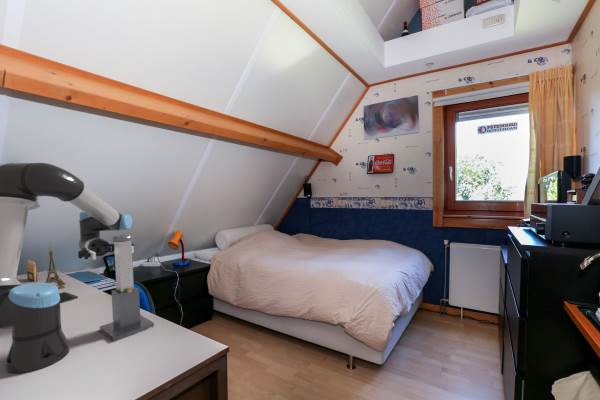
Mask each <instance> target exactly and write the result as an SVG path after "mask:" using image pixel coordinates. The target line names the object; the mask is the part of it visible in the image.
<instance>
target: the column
mask: <svg viewBox="0 0 600 400" xmlns="http://www.w3.org/2000/svg"><path fill="white" fill-rule="evenodd" d="M132 241H133V235H132V234H120V235H115V236H112V243H113V244H114V250H115V251H114V266H115V285H116V286H115V287H116V288H115V290H116V291H117V292H118V293H124V292H127V290H130V289H132V290H134V287H135V286H134V283H135V282H134V268H133V253H132V244H133V243H132Z"/></svg>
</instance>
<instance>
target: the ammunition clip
mask: <svg viewBox="0 0 600 400" xmlns="http://www.w3.org/2000/svg"><path fill="white" fill-rule="evenodd" d="M26 272H27V273H26V276H27V280H28V281H31V282H33V283H34V282H35V283H36V282H38V273H37V267H36V262H35V261H33V260H30V259H28V261H27V271H26Z"/></svg>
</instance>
